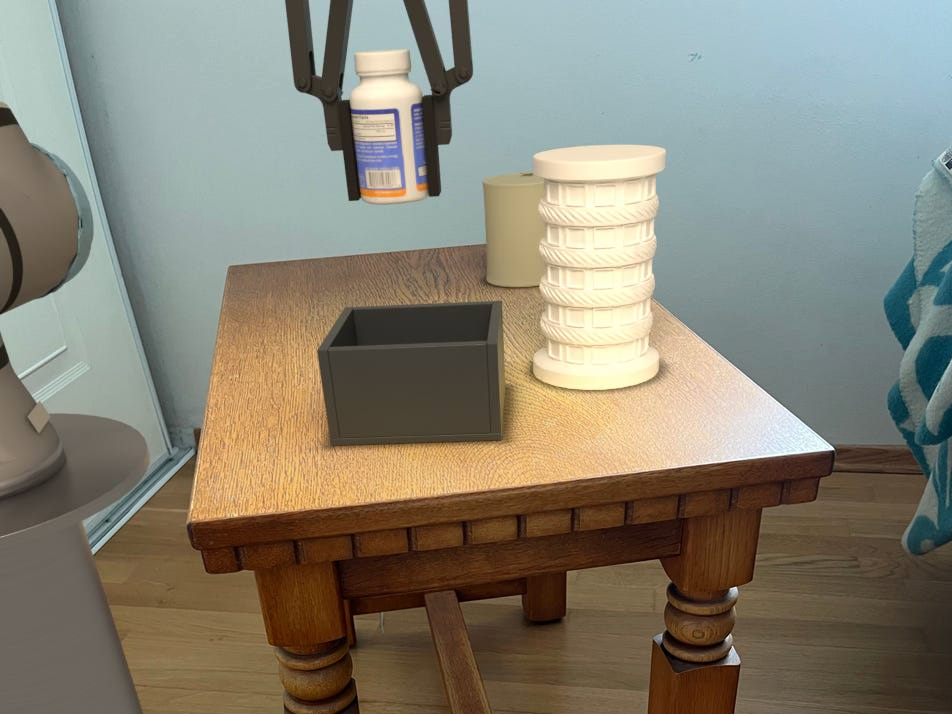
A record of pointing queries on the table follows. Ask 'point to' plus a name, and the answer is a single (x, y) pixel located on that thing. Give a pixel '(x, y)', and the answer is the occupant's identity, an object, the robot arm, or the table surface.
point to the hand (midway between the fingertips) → (395, 195)
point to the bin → (414, 373)
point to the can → (514, 229)
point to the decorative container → (598, 265)
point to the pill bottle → (388, 129)
